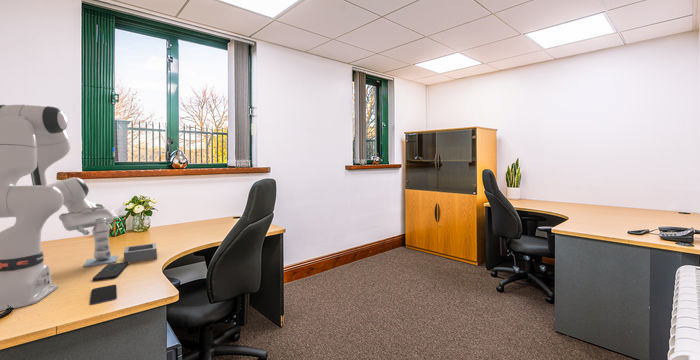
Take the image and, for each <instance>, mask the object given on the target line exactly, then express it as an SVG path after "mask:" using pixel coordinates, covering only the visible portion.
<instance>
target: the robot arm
mask: <svg viewBox="0 0 700 360" xmlns="http://www.w3.org/2000/svg"><path fill="white" fill-rule="evenodd" d="M67 127H68V119H67V115H66V114H65V112H64V111H62V110H61V109H60V108H58V107H55V106H49V105H47V106H41V105H30V104H0V219H5V218H15V223H13V224H14V225H12V226H9V227H7V228H6V229H3V230H2V231H0V312H3V311H7V310H6V309H7V308H8V306H7V305H9V307H10V306H11V307H13V308H14V309H17V308H22V307H25V306H29V305H34V304H36V303H39V302H40V301H41V300H43V299H44V298H45V297H47V296H48V295H49V294H51V293H52V292H54V291H56V290H57V289H58V288H59V286H58V284H54V283H53V281H52V273H51V269H50V268H51V267H50V266H49V265H47V264H45V263H44V257H45V256H44V251H42V244H41V243H42V241H41V240H42V239H41V238H42V231H43V227H44V225H45V224H46V222H47V220H49V218H50V217H51V216H53V215H54V214H56V213H57V212H59V210H61V209H62V207H63V206H64V207H65V208H66V209H67V212H66V213H65V212H64V213H61V214H59V216H58V219H59V220H60V221H61V223H62V226H63V228H64V229H65V230H66V231H69V232H70V231H71V232H72V231H77V232H79V233H81V234H83V236H88V235H90V231H89V230H88V229H89V228H94V226H95V225H96V223H95V222H96V219H98V218H105V221H106V222H105V224H106V225H107V226H108V227H109V231H110V230H111V227H110V224H112V223H113V222H114V220H115V216H114V215H113V214H112V212H111V211H110V210H109V209H108V208H106V205H105V204H102V203H96V202H95V203H94V202H90V201H89V200H88V199H86V197H88V194H89V192H90V191H89V187H88V186H87V184H86V183H85V181H84V180H83V179H81V178H79V177H77V176H76V177H75V176H73V177H70V178H66V179H62V180H61V181H57V182H53V183H50V184H48V183H47V178H46V171H47V169H48V168H49V167H51V166H52V165H53V164H54V163H56V162H58V161H60V160H62V159H64V158H65V157H66V156H67V155H68V154H69V153H70V150H71V143H70V140H69V137H68V135H67V132H66V129H67ZM28 175H30V179H31V183H32V185H17V183H18V182H19V180H20V179H22V178H23V177H25V176H28ZM87 228H88V229H87ZM52 283H53V284H52Z"/></svg>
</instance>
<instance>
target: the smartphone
mask: <svg viewBox="0 0 700 360" xmlns="http://www.w3.org/2000/svg"><path fill="white" fill-rule="evenodd" d="M117 288H118V287H117V284H111V285H106V286H105V285H104V286H101V287H95V288H93V289H91V291H90V297H89V305H90V306H94V305H97V304H102V303H107V302H112V301H115V300H117V299H118V296H117V295H118V293H117V291H118V289H117Z"/></svg>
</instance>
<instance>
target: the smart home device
mask: <svg viewBox="0 0 700 360" xmlns="http://www.w3.org/2000/svg"><path fill="white" fill-rule="evenodd" d="M128 265H129V263H128V262H124V261H123V262H116V263H109V264H105V266H104V267H103V268H102V269H101V270H100V271H99V272H98V273H97V274H95V275H94V276H93V277H92V282H97V281H106V280H112V279H116V278H118V277H119V276H120V275H121V274H122V273H123V271H124V270H126V268H127V267H128Z"/></svg>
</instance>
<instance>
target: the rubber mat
mask: <svg viewBox="0 0 700 360" xmlns="http://www.w3.org/2000/svg"><path fill="white" fill-rule="evenodd" d="M118 258H119V255H111V257H110V258H108V259H105V260H96V259H95V258H89V259H86V261H85V262H84V264H83V265H82V268H89V267H94V266H100V265H101V266H102V265H108V264H113V263H117V260H118Z"/></svg>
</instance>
